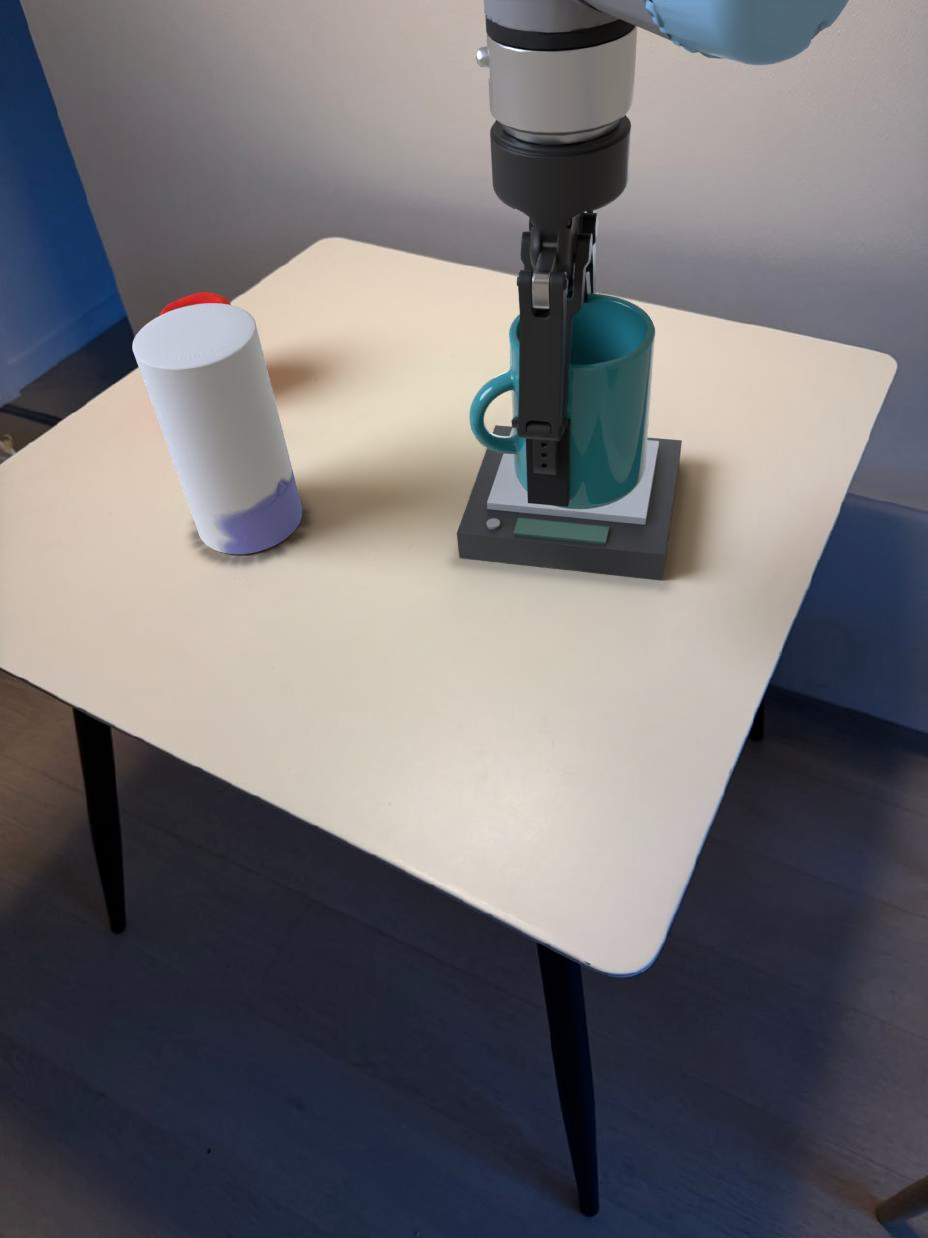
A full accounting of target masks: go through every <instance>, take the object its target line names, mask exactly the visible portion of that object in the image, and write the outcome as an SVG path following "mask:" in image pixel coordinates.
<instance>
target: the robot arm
mask: <svg viewBox="0 0 928 1238" xmlns="http://www.w3.org/2000/svg"><path fill="white" fill-rule="evenodd" d="M849 1H850V0H483V9H484V10H483V11H484V16H485V32H486V46H481V47H479V48H478V50H477V53H476V56H475V60H476V64H477V65H478V66H479V67H480V68H483V69H484V68H485V69H489V78H488V80H487V81H488V98H489V101H488V102H489V111H490V114H491V116H492V117H493V118H494V120H495V121H494V122H493V124H492V125H491V127H490V130H489V138H490V139H489V141H490V157H491V159H490V160H491V179H492V180H491V181H492V188H493V192H494V193H495V196H496V197H497V198H498V199H499V200H500V202H501V203H503V204H504V205H506V206H507V207H509V208H511V209H513V210H517V211H519V212H521V213H522V214H524V215H526V216H527V217H528V230H523V231H522V233H521V241H520V260H521V262H522V264H523V269H520V270H519V272H518V276H517V277H516V287H517V290H518V291H517V292H518V293H517V294H518V307H519V308H518V309H519V310H518V311H519V314H520V336H519V415H518V417H516V416H515V417H514V418H513V419H511V426H512V428H517V432H518V436H519V438H526V466H527V498H528V503H530V504H541V505H552V506H563V507H568V505H569V501H570V419H568V418H567V403H568V371H569V365H570V362H571V348H572V335H573V321H574V315H575V314H576V313H578V312H579V311H581V309H582V307H583V302H584V303H588V295H589V293H594V294H597V270H596V269H597V264H596V262H597V261H596V259H597V257H596V256H597V255H596V253H597V247H596V246H597V245H596V243H597V236H598V229H599V213H598V212H596V211H597V210H600V209H602V208H605V207H606V206H609V205H610V204H611V203H613V202H615V201H616V200H617V199H618V198H619V197H620V196H621V195H623V193H624V192H625V190H626V188H627V186H628V183H629V178H630V177H629V175H630V158H631V139H632V138H631V137H632V122H631V120H630V119H629V116H627V114H628V113H629V111H631V109H632V108H633V106H634V99H635V97H634V96H635V78H636V59H637V40H638V39H637V38H638V28H640V29H643V30H645V31H647V32H649V33H651V34H654V35H657V36H658V37H661V38H663V39H665V40H668V41H670V42H672V43H673V44H674V45H675V46H677V47H682V48H683V49H684V50H685V51H687V52H689V53H691V54H696V53H699V54H700V55H702V56H703V57H706V58H708V59H719V60H720V59H721V60H727V61H733V62H736V63H740V64H744V65H749V66H771V65H776V64H779V63H782V62H786V61H788V60H791V59H793V58H795V57H797V56H799V55H800V54H801V53H803V52H804V51H805V50H807V49H808V48H809V47H810V45H811V43H812V40H813V39H814V38H815V37H816V36H817V35H818V34H819V33H820V32H822V31H824V30H825V29H827V28H830V27H831V26H832V25H833V24H834V23H835V22H836V21H837V20H838V18H839V17H840V15H841V14H842V12H843V10H844V9H845V8H846V6H847V4H848V3H849ZM567 298H570V299H567Z"/></svg>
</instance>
